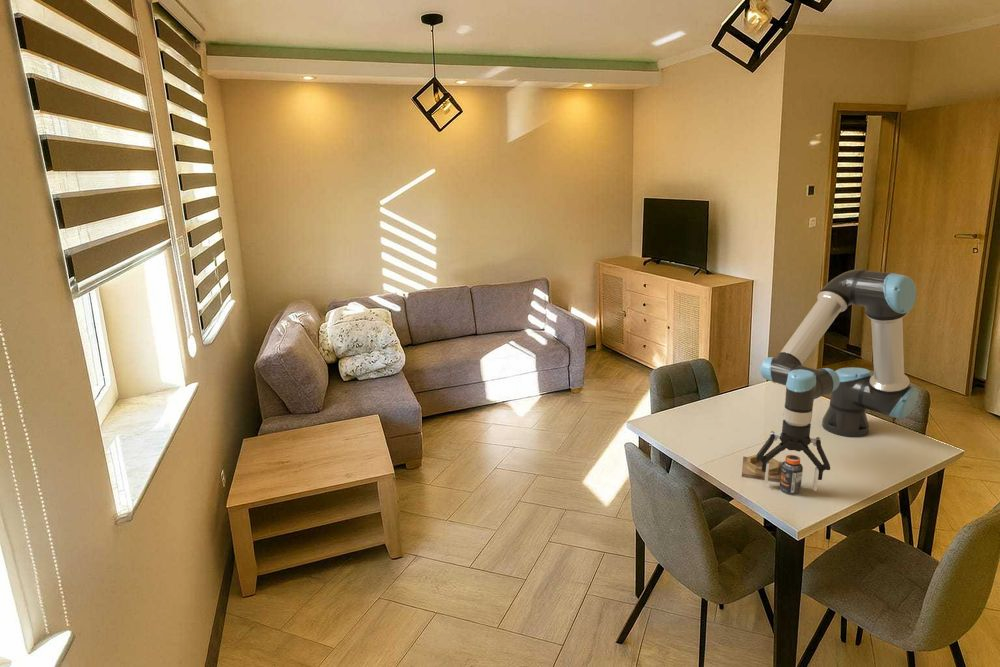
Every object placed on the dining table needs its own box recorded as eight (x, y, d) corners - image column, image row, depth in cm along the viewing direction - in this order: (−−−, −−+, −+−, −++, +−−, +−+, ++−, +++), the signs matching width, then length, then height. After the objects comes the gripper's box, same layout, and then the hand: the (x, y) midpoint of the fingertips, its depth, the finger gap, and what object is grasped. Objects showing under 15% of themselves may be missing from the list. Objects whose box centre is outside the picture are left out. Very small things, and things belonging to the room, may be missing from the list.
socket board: (781, 465, 202) (782, 456, 201) (782, 482, 192) (783, 473, 191) (743, 459, 207) (743, 451, 206) (741, 476, 196) (742, 467, 195)
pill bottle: (775, 486, 190) (778, 453, 187) (793, 484, 190) (797, 452, 187) (785, 496, 184) (789, 462, 181) (804, 494, 185) (808, 461, 181)
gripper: (843, 421, 179) (834, 485, 185) (752, 411, 189) (746, 472, 195) (845, 432, 173) (837, 498, 179) (751, 420, 182) (746, 483, 188)
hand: (790, 484), depth 187 cm, fingers open, 13 cm apart
